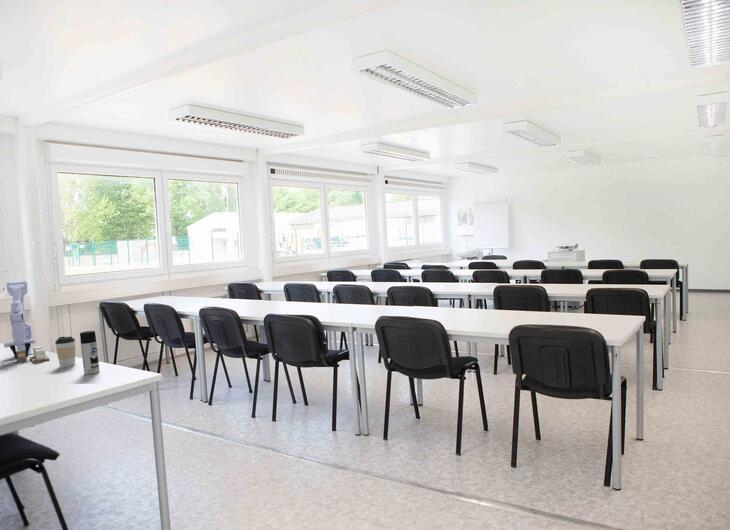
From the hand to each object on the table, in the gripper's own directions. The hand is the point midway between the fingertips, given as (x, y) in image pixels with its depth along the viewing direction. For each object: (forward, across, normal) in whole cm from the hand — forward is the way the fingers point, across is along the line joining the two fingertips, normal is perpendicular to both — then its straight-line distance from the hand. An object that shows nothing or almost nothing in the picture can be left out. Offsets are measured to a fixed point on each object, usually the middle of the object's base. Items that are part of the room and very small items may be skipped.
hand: (21, 357), depth 298 cm
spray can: (+2, +23, -70) cm, 74 cm away
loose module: (+2, 0, 0) cm, 2 cm away
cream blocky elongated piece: (+2, +8, -6) cm, 10 cm away
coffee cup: (+2, +17, -40) cm, 43 cm away
